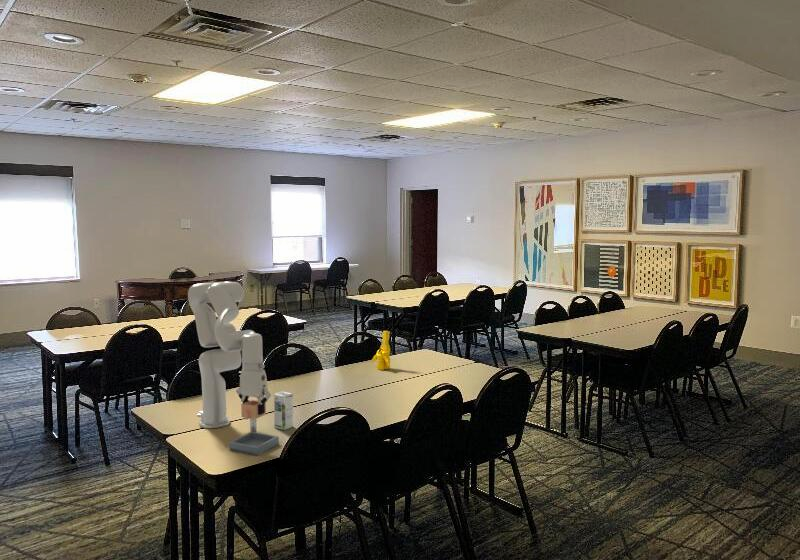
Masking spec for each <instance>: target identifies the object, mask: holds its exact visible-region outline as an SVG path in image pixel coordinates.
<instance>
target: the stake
mask: <svg viewBox="0 0 800 560" xmlns="http://www.w3.org/2000/svg"><path fill="white" fill-rule="evenodd" d="M249 423H250V424H249V425H250V431H249V432H251V431H252V432H257V433H258V431H257V430H258V426H257V419H251V418H249Z"/></svg>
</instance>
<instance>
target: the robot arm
mask: <svg viewBox="0 0 800 560" xmlns="http://www.w3.org/2000/svg"><path fill="white" fill-rule="evenodd" d="M244 297H245V290H244V287H243V286H242V285H241V284H240V282H238V281H215V282H214V281H213V282H202V283H196V284H193V285H191V286H190V287H189V288H188V291H187V300H188V304H189V306H190V309H191V311H192V313H193V316H194V318H195V325H196V326H195V327H196V332H197V336H198V337H197V338H198V341H199V344H200V346H201V347H203V348H215V347H220V348H217V349H211V350H206V351H203V352H202V353H201V354H200V355H199V358H198V365H199V371H200V377H201V391H202V392H201V394H202V410H200V411H198V413H197V415H196V417H198V418H201V419H200V421H199V424H198V425H199V427H201V428H206V429H217V428H222V427H226V426H228V425H229V424H230V423H231V418H229V417H227V392H226V387H227V386H226V380H225V378H224V377H223V376H222V375H221V374H220V373H222V372H223V373H224V372H227V371H233V370H237V369H238V368H240V367H241V366H242V367H241V368H242V369H241V371H240V376H239V377H240V378H239V387H238V388H237V389H236V390H235V393H236V394H237V395H238V398H239V399H240V402H242V404H243V403H245V402H248V401H250V398H252V397H253V398H256V400H258V402H259V405H258V415H261V414H264V413H265V403H266V404H267V402H268V400H269V399H270V398H271V396H272V394H271V392H270V391H269V390H268V389H269V387H268V379H267V374H266V370H265V369H264V368H265V367H266V366H265V364H264V358H263V336H262V334H260V333H256V331H254V330H252V329H245V330H237V329H236V327H235V326H234V324H233V323H230V322H233V321H234V320H235V319H236V318H237V317H238V316H239V313H240V308H239V306H238V305H237V303H240V302H242V300H243V299H244ZM209 303H210V304H211V305H212V307H211V306H210V305H209Z"/></svg>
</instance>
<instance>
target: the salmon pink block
mask: <svg viewBox="0 0 800 560" xmlns="http://www.w3.org/2000/svg"><path fill="white" fill-rule="evenodd" d="M258 405H259V402H258V399H251V400H250V399H249V401H248V402H245V403H243V402H242V403H241V404H240V406H241V409H240V410H241V418H243V420H245V421H246V420H250V418H251V419H256V420H258V419H259V418H261V417H263V416H266V415H267V402H266V403H265V413H264V414H261V415H258Z"/></svg>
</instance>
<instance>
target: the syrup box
mask: <svg viewBox="0 0 800 560" xmlns="http://www.w3.org/2000/svg"><path fill="white" fill-rule="evenodd" d="M273 405H274V406H273V408H274V409H273V410H274V411H273V412H274V413H273V414H274V415H273V417H274V429H279V430H283V431H286V430H288V429H290V428H293V427H294V394H293V392H286V391H279V392H276V393H274V394H273Z"/></svg>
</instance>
